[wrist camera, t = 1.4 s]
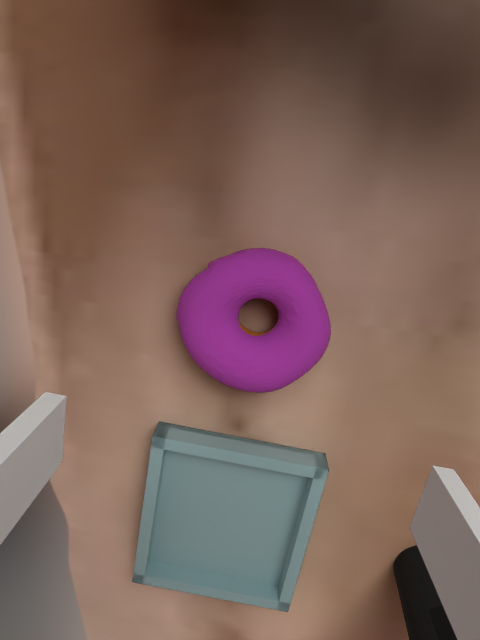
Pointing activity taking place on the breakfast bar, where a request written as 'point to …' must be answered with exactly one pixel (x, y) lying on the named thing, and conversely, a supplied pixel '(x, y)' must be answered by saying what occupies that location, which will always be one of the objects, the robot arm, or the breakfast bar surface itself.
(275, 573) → the tray
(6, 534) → the robot arm
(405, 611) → the drinking cup
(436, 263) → the breakfast bar surface
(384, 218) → the breakfast bar surface
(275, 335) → the donut
